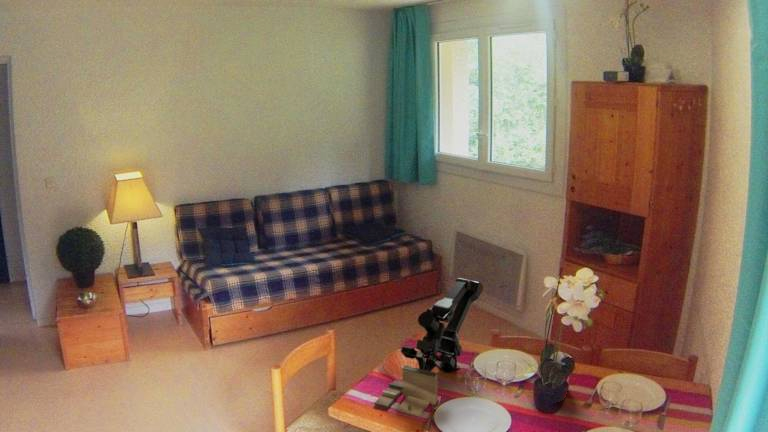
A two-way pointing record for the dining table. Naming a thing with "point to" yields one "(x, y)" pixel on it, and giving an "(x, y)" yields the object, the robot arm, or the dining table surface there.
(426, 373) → the beige stand
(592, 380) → the dining table surface
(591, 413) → the dining table surface
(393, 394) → the board
